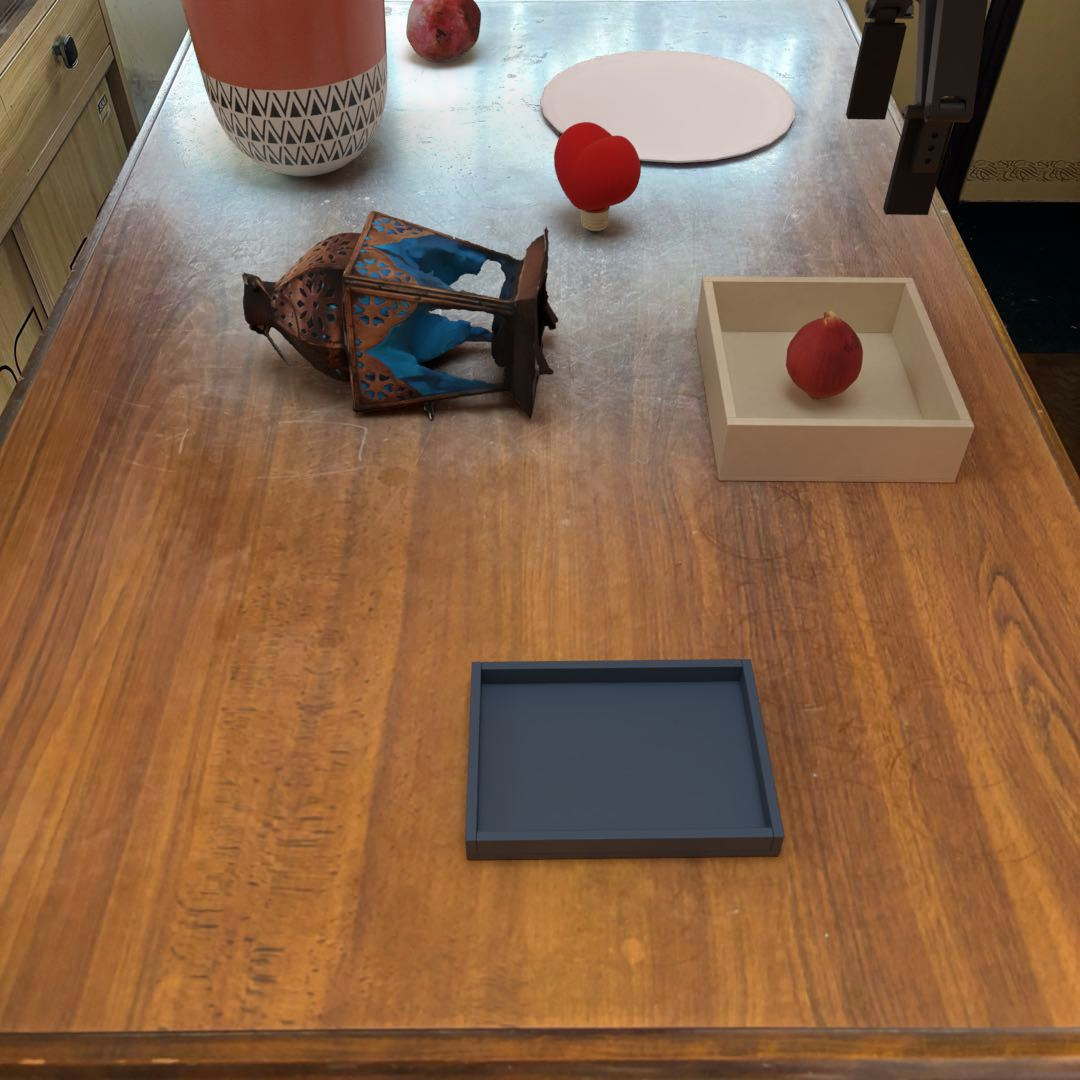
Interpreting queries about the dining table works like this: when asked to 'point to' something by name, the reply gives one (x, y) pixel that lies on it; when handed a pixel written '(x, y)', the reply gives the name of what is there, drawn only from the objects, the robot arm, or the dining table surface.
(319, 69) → the planter
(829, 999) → the dining table surface
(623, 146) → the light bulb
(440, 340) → the lantern
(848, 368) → the onion
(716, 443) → the beige open rectangular box
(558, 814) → the tray
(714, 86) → the plate
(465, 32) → the fruit
